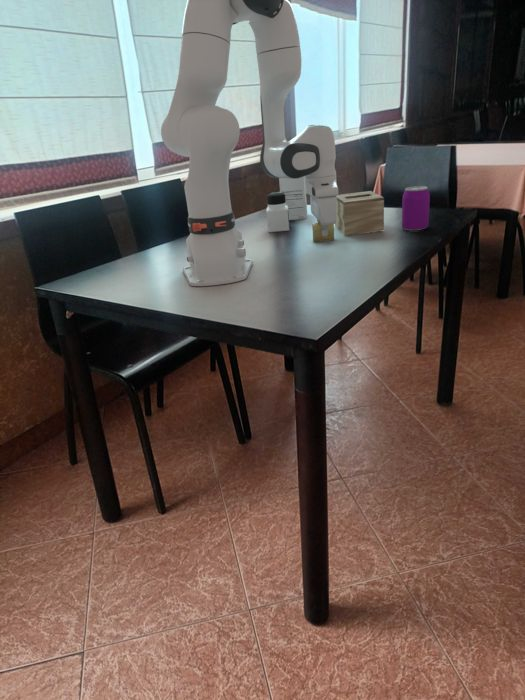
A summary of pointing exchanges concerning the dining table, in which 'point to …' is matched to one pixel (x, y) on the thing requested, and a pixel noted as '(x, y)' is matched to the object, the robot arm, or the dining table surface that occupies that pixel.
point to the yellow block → (317, 233)
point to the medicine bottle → (277, 212)
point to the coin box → (359, 213)
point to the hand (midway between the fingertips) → (323, 234)
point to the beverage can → (415, 208)
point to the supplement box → (295, 197)
